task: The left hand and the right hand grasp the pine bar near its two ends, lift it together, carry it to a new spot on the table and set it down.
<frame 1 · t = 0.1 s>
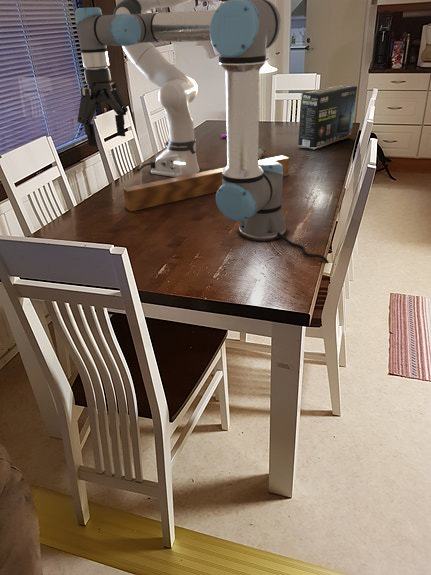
left hand: (249, 53, 177), 48 cm above the table, tool pointing down, fingers open, 8 cm apart
right hand: (107, 140, 148), 28 cm above the table, tool pointing down, fingers open, 13 cm apart
bar: (212, 190, 186), on the table
purple curved segmented piece: (231, 140, 257), on the table
router box: (325, 143, 245), on the table
fossil: (246, 158, 225), on the table
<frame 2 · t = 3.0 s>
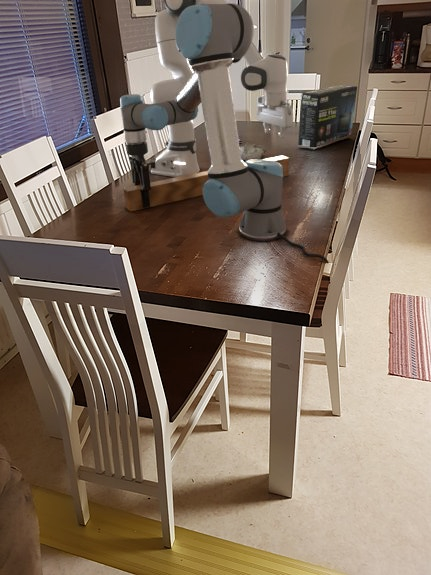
left hand: (274, 135, 190), 17 cm above the table, tool pointing down, fingers open, 8 cm apart
right hand: (143, 204, 174), 1 cm above the table, tool pointing down, fingers closed on bar, 5 cm apart
bar: (212, 190, 186), on the table, touching right hand
everything else where it was.
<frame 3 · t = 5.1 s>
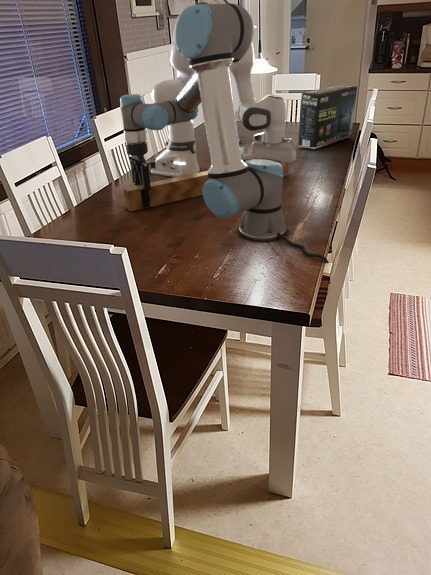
left hand: (273, 169, 197), 3 cm above the table, tool pointing down, fingers closed on bar, 6 cm apart
right hand: (143, 204, 173), 1 cm above the table, tool pointing down, fingers closed on bar, 5 cm apart
bar: (212, 190, 186), on the table, touching right hand, left hand
everything else where it was.
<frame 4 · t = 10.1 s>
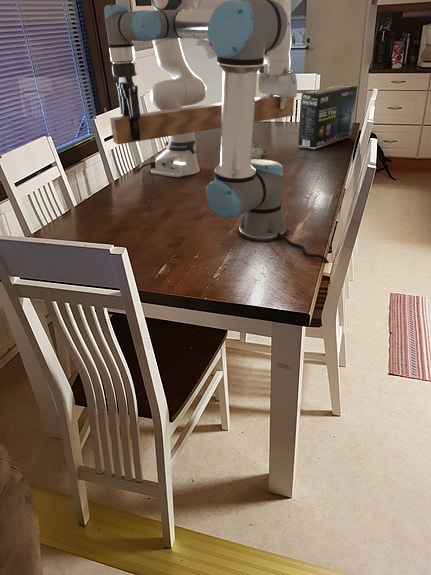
left hand: (276, 107, 179), 29 cm above the table, tool pointing down, fingers closed on bar, 4 cm apart
right hand: (133, 138, 155), 26 cm above the table, tool pointing down, fingers closed on bar, 5 cm apart
bar: (210, 127, 168), point 26 cm above the table, touching right hand, left hand
everything else where it was.
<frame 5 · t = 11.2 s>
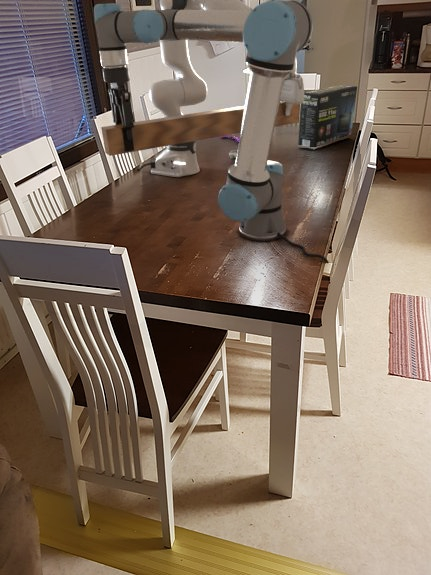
left hand: (281, 114, 166), 30 cm above the table, tool pointing down, fingers closed on bar, 4 cm apart
right hand: (126, 148, 143), 27 cm above the table, tool pointing down, fingers closed on bar, 5 cm apart
bar: (210, 136, 156), point 26 cm above the table, touching right hand, left hand
everything else where it was.
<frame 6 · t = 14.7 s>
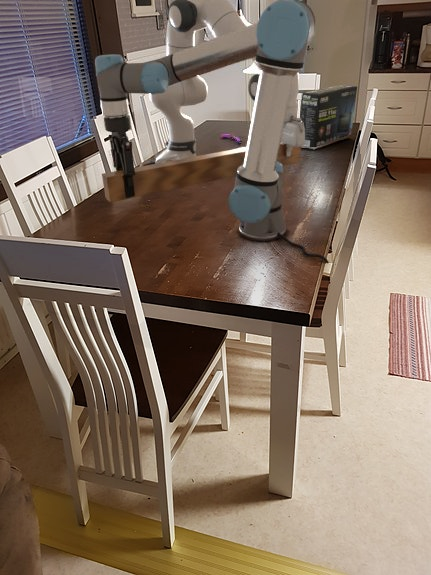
left hand: (282, 154, 166), 17 cm above the table, tool pointing down, fingers closed on bar, 4 cm apart
right hand: (127, 193, 143), 15 cm above the table, tool pointing down, fingers closed on bar, 5 cm apart
bar: (211, 178, 155), point 14 cm above the table, touching right hand, left hand
everything else where it was.
when the right hand's fingers open (2 cm above the table, at t = 17.3 s): bar stays where it is, on the table.
when the left hand's fingers open (4 cm above the table, at t = 17.5 s): bar stays where it is, on the table.
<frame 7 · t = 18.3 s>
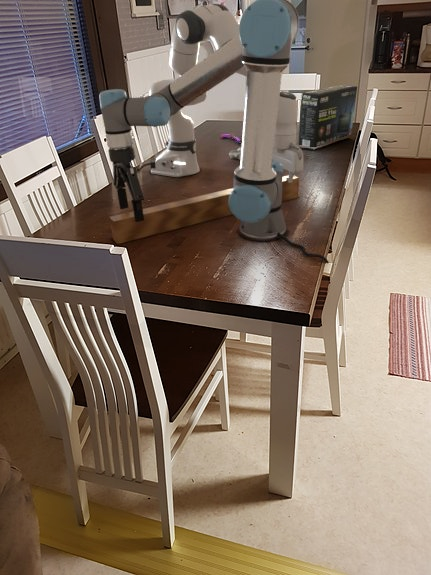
left hand: (281, 178, 171), 8 cm above the table, tool pointing down, fingers open, 8 cm apart
right hand: (131, 214, 146), 8 cm above the table, tool pointing down, fingers open, 13 cm apart
bar: (213, 216, 163), on the table
everything else where it was.
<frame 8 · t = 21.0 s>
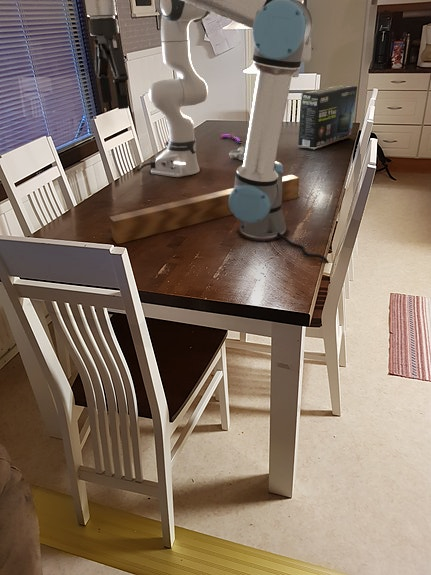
left hand: (286, 75, 153), 43 cm above the table, tool pointing down, fingers open, 8 cm apart
right hand: (114, 105, 129), 41 cm above the table, tool pointing down, fingers open, 13 cm apart
nothing on the table moved.
at the end: bar inside the target area (0.1 cm from its centre), on the table; bar tilted 0°; bar never tilted more than 1° during the clip; both hands held the bar at the same time; the left hand is holding nothing; the right hand is holding nothing; bar at rest at the end (0.0 cm/s) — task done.
